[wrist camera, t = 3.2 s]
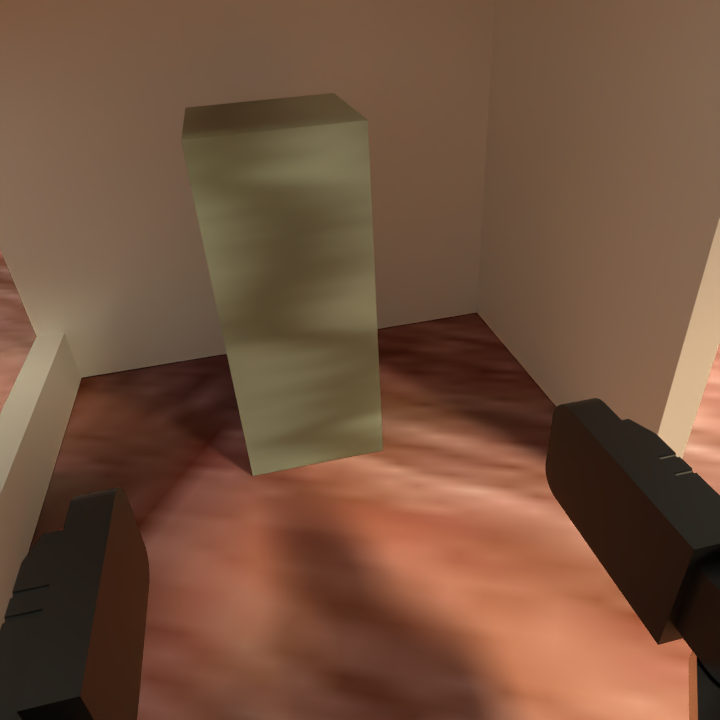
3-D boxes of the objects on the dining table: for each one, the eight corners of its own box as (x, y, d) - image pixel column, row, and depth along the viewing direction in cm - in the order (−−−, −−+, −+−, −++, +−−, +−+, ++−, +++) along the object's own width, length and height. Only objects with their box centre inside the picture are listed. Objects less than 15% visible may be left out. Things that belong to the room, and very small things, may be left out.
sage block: (355, 379, 27) (333, 93, 20) (383, 450, 23) (367, 120, 16) (244, 398, 26) (185, 107, 19) (252, 476, 22) (181, 140, 15)
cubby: (488, 299, 32) (521, -162, 22) (670, 496, 20) (947, -360, 9) (60, 368, 29) (-146, -140, 18) (-48, 660, 16) (-882, -410, 6)
